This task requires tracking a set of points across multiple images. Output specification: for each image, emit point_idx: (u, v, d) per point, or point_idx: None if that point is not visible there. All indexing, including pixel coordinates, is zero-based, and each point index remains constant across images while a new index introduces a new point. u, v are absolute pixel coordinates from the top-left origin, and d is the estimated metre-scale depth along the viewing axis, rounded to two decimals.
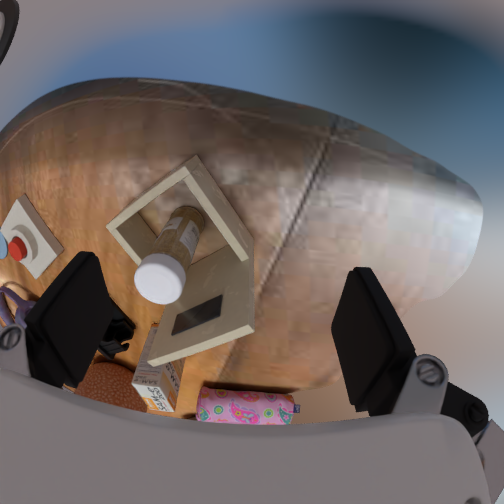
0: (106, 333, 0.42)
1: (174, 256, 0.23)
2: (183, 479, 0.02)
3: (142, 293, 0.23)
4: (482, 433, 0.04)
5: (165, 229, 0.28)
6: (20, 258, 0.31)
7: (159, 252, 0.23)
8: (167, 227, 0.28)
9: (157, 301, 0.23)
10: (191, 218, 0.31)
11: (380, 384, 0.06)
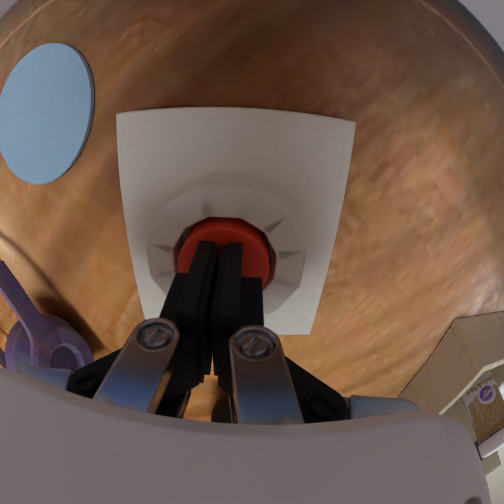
0: None
1: None
2: (183, 479, 0.02)
3: (491, 453, 0.11)
4: (349, 416, 0.05)
5: (493, 383, 0.16)
6: None
7: None
8: (493, 381, 0.16)
9: None
10: None
11: None
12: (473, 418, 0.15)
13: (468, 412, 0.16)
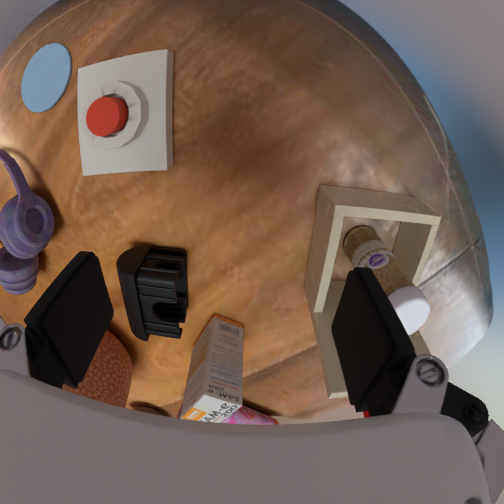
0: None
1: None
2: (183, 479, 0.02)
3: None
4: (482, 433, 0.04)
5: (387, 253, 0.24)
6: (104, 133, 0.19)
7: (417, 288, 0.20)
8: (387, 252, 0.24)
9: None
10: None
11: (380, 384, 0.06)
12: None
13: None
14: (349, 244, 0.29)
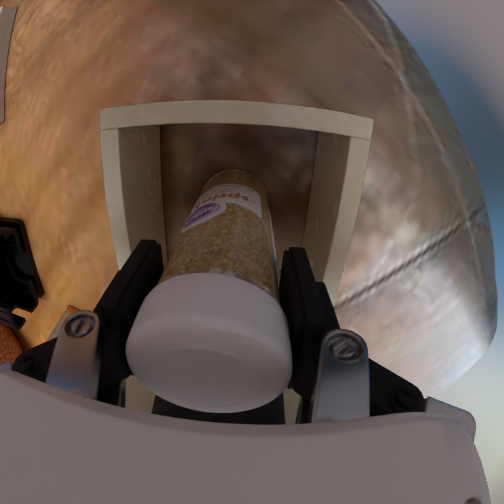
0: (0, 281, 0.19)
1: (281, 309, 0.08)
2: (183, 479, 0.02)
3: (138, 371, 0.06)
4: None
5: (232, 202, 0.12)
6: None
7: (254, 282, 0.07)
8: (237, 200, 0.12)
9: (170, 399, 0.07)
10: (266, 204, 0.15)
11: (299, 357, 0.07)
12: None
13: None
14: None
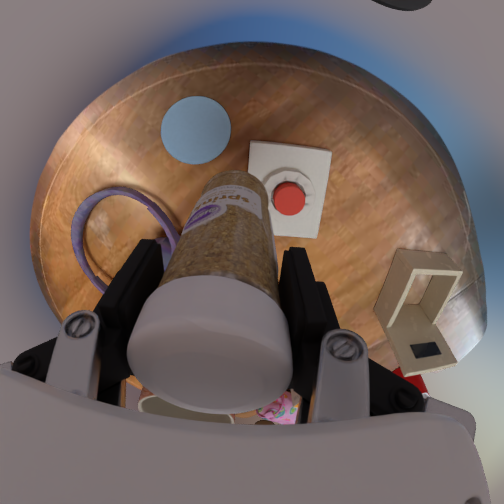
0: None
1: (282, 311, 0.08)
2: (183, 479, 0.02)
3: (139, 373, 0.06)
4: None
5: (233, 203, 0.12)
6: (289, 214, 0.31)
7: (255, 285, 0.07)
8: (237, 201, 0.12)
9: (171, 400, 0.07)
10: (267, 206, 0.15)
11: (298, 357, 0.07)
12: None
13: None
14: None
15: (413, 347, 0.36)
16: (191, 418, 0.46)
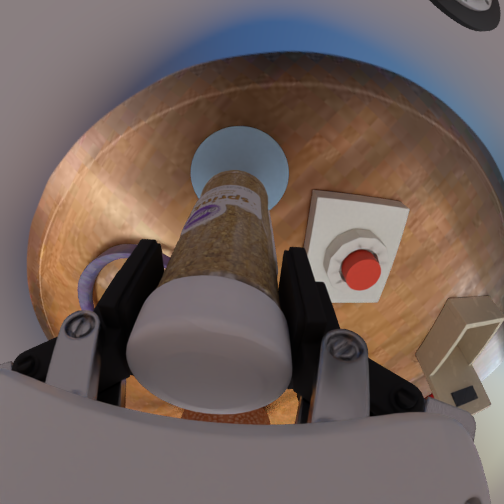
0: None
1: None
2: (183, 479, 0.02)
3: (138, 373, 0.06)
4: None
5: (232, 203, 0.12)
6: (361, 288, 0.24)
7: (254, 285, 0.07)
8: (237, 201, 0.12)
9: (170, 401, 0.07)
10: (266, 206, 0.15)
11: (299, 357, 0.07)
12: None
13: None
14: None
15: (454, 395, 0.29)
16: None
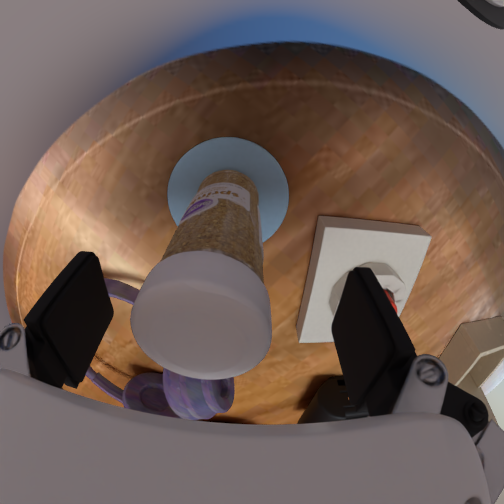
0: None
1: None
2: (183, 479, 0.02)
3: (140, 336, 0.08)
4: (483, 433, 0.04)
5: (224, 197, 0.13)
6: None
7: (239, 260, 0.09)
8: (228, 196, 0.13)
9: (167, 365, 0.08)
10: (256, 201, 0.17)
11: (380, 384, 0.06)
12: None
13: None
14: None
15: None
16: None
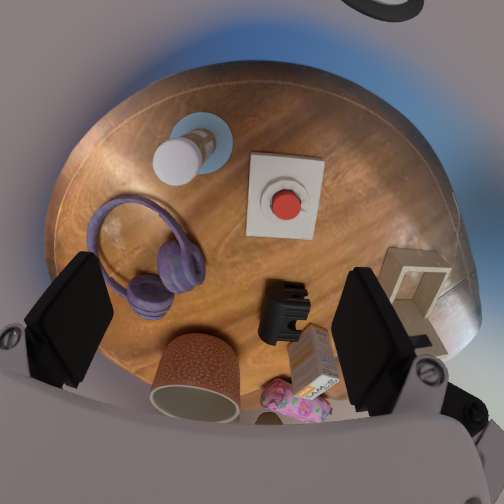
0: None
1: (200, 151, 0.25)
2: (183, 479, 0.02)
3: (155, 163, 0.23)
4: (482, 433, 0.04)
5: (193, 132, 0.28)
6: (287, 218, 0.35)
7: (191, 141, 0.24)
8: (195, 132, 0.28)
9: (162, 177, 0.24)
10: (212, 140, 0.32)
11: (380, 384, 0.06)
12: None
13: None
14: None
15: None
16: (199, 409, 0.50)
